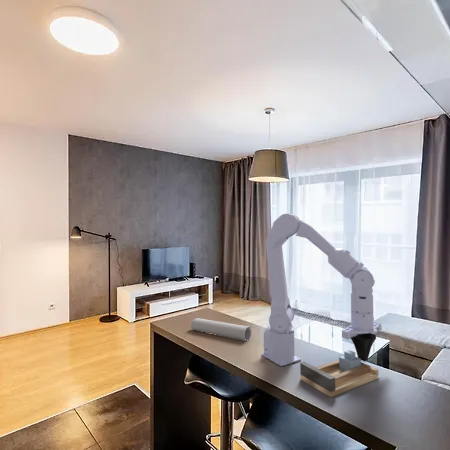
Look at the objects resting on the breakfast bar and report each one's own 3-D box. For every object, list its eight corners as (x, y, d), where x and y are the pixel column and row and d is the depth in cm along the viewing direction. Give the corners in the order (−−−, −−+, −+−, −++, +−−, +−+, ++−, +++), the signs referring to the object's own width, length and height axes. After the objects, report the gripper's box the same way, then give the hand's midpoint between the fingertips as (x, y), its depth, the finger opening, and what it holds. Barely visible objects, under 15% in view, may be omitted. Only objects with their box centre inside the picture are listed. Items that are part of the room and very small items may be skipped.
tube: (186, 321, 118) (243, 332, 104) (194, 314, 122) (249, 323, 109) (189, 333, 119) (245, 345, 106) (197, 325, 123) (252, 336, 110)
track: (300, 379, 79) (300, 363, 80) (346, 363, 88) (346, 349, 88) (330, 397, 71) (330, 379, 71) (378, 378, 80) (378, 362, 80)
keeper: (339, 368, 82) (338, 351, 82) (349, 365, 84) (348, 348, 84) (351, 374, 79) (350, 356, 79) (361, 370, 81) (360, 352, 81)
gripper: (357, 318, 77) (358, 371, 77) (391, 310, 85) (392, 359, 84) (335, 312, 84) (336, 361, 83) (368, 305, 91) (369, 350, 91)
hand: (362, 359), depth 84 cm, fingers closed
